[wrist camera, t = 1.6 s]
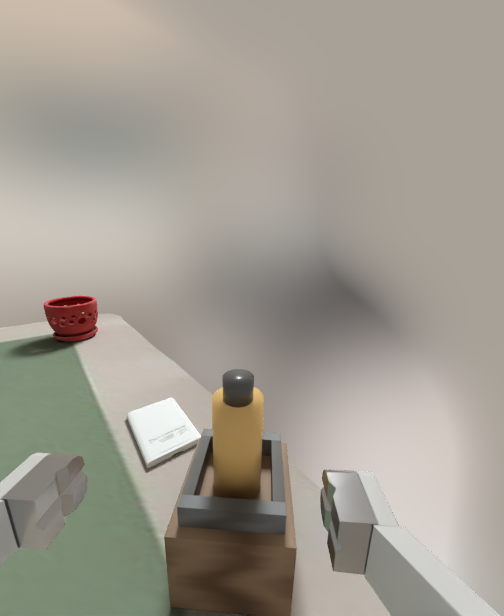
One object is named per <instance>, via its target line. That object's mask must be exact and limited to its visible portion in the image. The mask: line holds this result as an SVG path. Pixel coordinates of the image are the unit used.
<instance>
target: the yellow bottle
mask: <svg viewBox="0 0 504 616" xmlns="http://www.w3.org/2000/svg"><path fill="white" fill-rule="evenodd" d="M263 407H264V397H263V394H262V393H261V392H260V391H259V390H258V389H257V388H255V387H254V376H253V374H252V373H251V372H249V371H247V370H242V369H235V370H230V371H228V372H226V373H225V374H224V375H223V387H222V388H220V389H218V390H217V391H216V392H215V393H214V395H213V397H212V420H213V471H214V489H215V492H216V494H217V496H218V497H222V498H236V499H249V500H252V499H253V498H254V497H255V496H256V495H257V493H258V491H259V489H260V483H261V458H262V433H263Z"/></svg>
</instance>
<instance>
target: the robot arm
mask: <svg viewBox="0 0 504 616" xmlns="http://www.w3.org/2000/svg"><path fill="white" fill-rule="evenodd" d="M84 465H85V464H84V460H83V457H81V456H75V455H63V454H52V453H51V454H49V453H36V454H33V455H31V456H30V457H29V458H28V459H26V460H25V461H24V462H23V463H22V464H21V465H20V466H19V467H17V468H16V469H15V470H14V471H13V472H12V473H11V474H9V475H8V476H7V477H6V478H5V479H4V480H3V481H2V482H0V564H2V563H3V562H4V561H5V560H7V559H8V558H9V557H10V556H12V555H13V554H14V553H15V552H17V551H18V548H28V549H48V547H49V546H50V544H51V543H52V542H53V540H54V539H55V538H56V536H57V535H58V533H59V532H60V531H61V529H62V528H63V526H64V525H65V519H66V516H67V515H69V514H70V513H71V512H73V511H74V510H76V508H77V507H78V506H79V504H80V503H81V501H82V500H83V497H84V495H85V492H86V490H87V484H88V480H87V475H86V474H85V473H84V472H83V471H82V468H83V467H84ZM322 480H323V485H324V488H322V489H321V498H320V500H321V513H322V519H323V524H324V527H325V528H326V530H327V531H328V532H329V533H328V542H327V544H328V548H329V553H330V558H331V562H332V567H333V571H336V572H345V573H354V574H363V575H365V578H366V580H367V581H368V582H369V584H370V585H371V587H372V588H373V590H374V591H375V593H376V594H377V595H378V597H379V598H380V600H381V601H382V603H383V604H384V606H385V607H386V609H387V610H388V611H389V613H390V614H391V616H499V614H498V613H497V612H496V611H494V610H493V609H492V608H491V607H490V606H489V605H488V604H487V603H486V602H485V601H484V600H483V599H481V598H480V597H479V596H478V595H477V594H476V593H475V592H474V591H473V590H472V589H471V588H470V587H469V586H467V584H465V583H464V582H463V581H462V580H461V579H460V578H459V577H458V576H457V575H456V574H454V572H452V571H451V570H450V569H449V568H448V567H447V566H446V565H445V564H444V563H443V562H442V561H441V560H440V559H438V557H436V556H435V555H434V554H433V553H432V552H431V551H430V550H429V549H428V548H427V547H426V546H425V545H424V544H422V543H421V542H420V541H419V540H418V539H417V538H416V537H415V536H414V535H413V534H411V532H410V531H409V530H407V529H406V528H405V527H400V526H399V525H398V523H397V521H396V519H395V516H394V514H393V512H392V510H391V508H390V506H389V504H388V502H387V500H386V498H385V496H384V494H383V492H382V490H381V487H380V485H379V483H378V481H377V479H376V477H375V475H374V474H373V473H372V472H366V471H346V470H324V471H323V476H322Z"/></svg>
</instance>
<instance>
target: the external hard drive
mask: <svg viewBox="0 0 504 616" xmlns="http://www.w3.org/2000/svg"><path fill="white" fill-rule="evenodd" d="M127 420H128V422H129V424H130V427H131V429H132V432H133V434H134V437H135V439H136V441H137V444H138V446H139V449H140V451H141V454H142V456H143V459H144V461H145V463H146V466H147V468H150V467H152V466H154V465H156V464H158V463H160V462H162V461H164V460H166V459H168V458H170V457H172V455H174V454H176V453H178V452H182V451H184V450H186V449H188V448H190V447H192V446H194V445H197V443H198V440H199V438H201V435H200V434H199V433H198V431H197V430H196V429H195V427H194V426H193V424H192V423H191V422H190V420H189V419H188V418H187V416H186V415H185V413H184V412H183V411H182V409H181V408H180V407H179V405H178V404H177V403H176V401H175V400H174V399H173V398H168V399H165V400H163V401H160V402H157V403H154V404H151V405H148V406H145V407H143V408H140V409H137V410H134V411H131V412H129V413H127Z"/></svg>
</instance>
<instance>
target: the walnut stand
mask: <svg viewBox="0 0 504 616" xmlns="http://www.w3.org/2000/svg"><path fill="white" fill-rule="evenodd" d="M164 538H165V550H166V561H167V572H168V584H169V595H170V606H171V607H175V608H185V609H195V610H205V611H215V612H225V613H235V614H245V615H255V616H290V613H291V602H292V591H293V581H294V570H295V559H296V538H295V528H294V517H293V507H292V497H291V486H290V476H289V465H288V456H287V445H286V444H282V443H281V434H278V433H262V458H261V483H260V489H259V491H258V493H257V495H256V496H255V497H254V498H253V499H252V500H249V499H236V498H222V497H218V496H217V494H216V492H215V489H214V471H213V429H204V430H203V433H202V435H201V438H199V440H198V443H197V445H196V448H195V451H194V454H193V457H192V460H191V463H190V465H189V468H188V471H187V474H186V477H185V480H184V483H183V485H182V488H181V491H180V494H179V497H178V500H177V502H176V505H175V508H174V511H173V514H172V517H171V520H170V522H169V525H168V528H167V531H166V534H165V537H164Z"/></svg>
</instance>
